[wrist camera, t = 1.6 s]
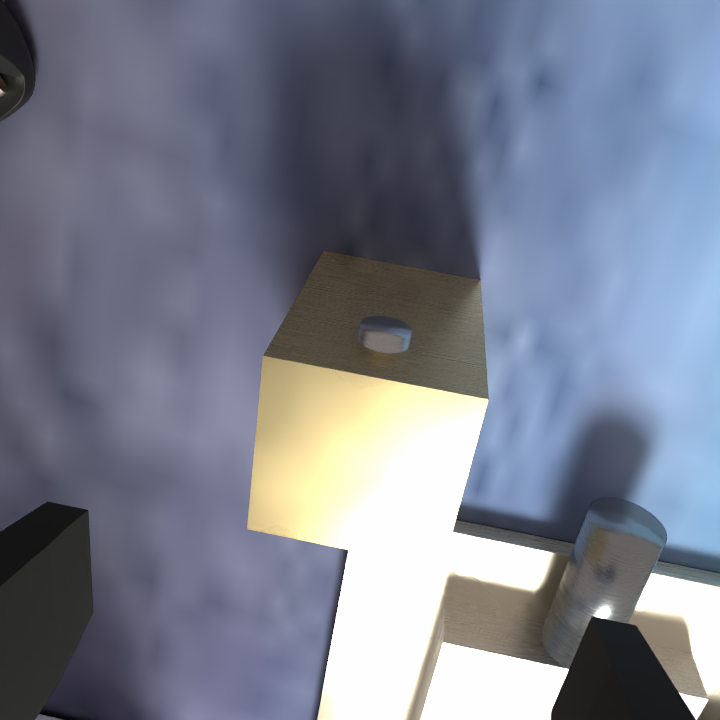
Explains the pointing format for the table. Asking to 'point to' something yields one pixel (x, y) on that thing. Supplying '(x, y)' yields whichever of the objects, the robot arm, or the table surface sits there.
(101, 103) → the table surface
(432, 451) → the coupling block
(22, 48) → the battery charger
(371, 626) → the cream square socket base
